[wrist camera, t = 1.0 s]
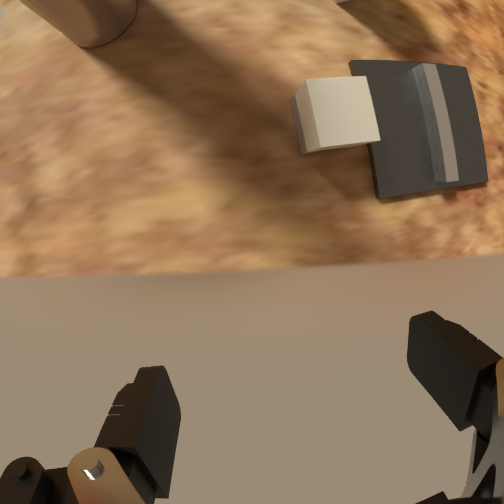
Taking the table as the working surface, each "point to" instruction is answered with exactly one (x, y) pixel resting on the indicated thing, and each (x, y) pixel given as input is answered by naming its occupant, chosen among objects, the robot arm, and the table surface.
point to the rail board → (422, 127)
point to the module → (334, 114)
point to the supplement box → (340, 1)
